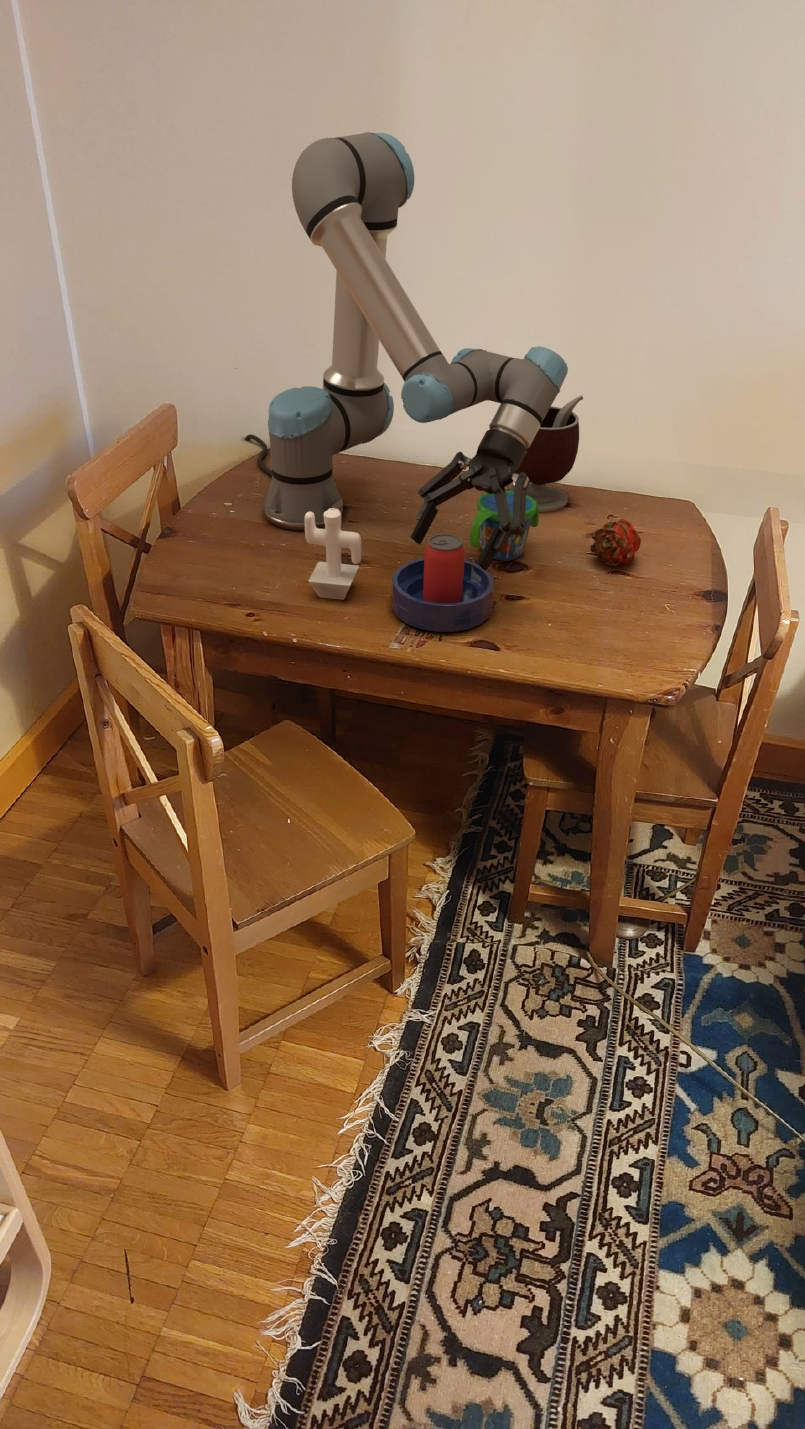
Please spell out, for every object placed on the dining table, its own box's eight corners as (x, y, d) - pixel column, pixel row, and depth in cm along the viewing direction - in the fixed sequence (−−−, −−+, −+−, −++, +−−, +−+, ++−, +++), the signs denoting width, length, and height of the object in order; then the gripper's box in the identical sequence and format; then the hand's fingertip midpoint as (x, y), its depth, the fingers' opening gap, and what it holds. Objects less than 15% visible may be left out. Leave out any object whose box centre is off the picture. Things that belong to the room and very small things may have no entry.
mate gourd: (529, 519, 198) (539, 419, 186) (489, 493, 208) (497, 396, 196) (591, 503, 205) (605, 406, 193) (550, 479, 214) (560, 385, 202)
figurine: (356, 605, 170) (356, 524, 161) (302, 599, 171) (298, 518, 162) (365, 585, 176) (365, 505, 167) (313, 579, 177) (310, 500, 168)
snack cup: (517, 532, 193) (522, 482, 187) (553, 554, 186) (559, 503, 180) (451, 552, 186) (454, 500, 180) (486, 575, 179) (490, 523, 173)
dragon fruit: (603, 584, 181) (609, 563, 191) (647, 563, 177) (651, 543, 187) (580, 543, 178) (588, 524, 189) (624, 521, 175) (630, 503, 185)
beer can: (420, 596, 171) (423, 532, 164) (459, 595, 172) (463, 531, 165) (424, 616, 166) (427, 551, 159) (464, 615, 167) (468, 550, 160)
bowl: (390, 585, 176) (390, 557, 172) (484, 584, 177) (487, 556, 173) (394, 635, 162) (395, 606, 159) (497, 634, 163) (499, 605, 160)
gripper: (579, 470, 162) (518, 587, 162) (455, 431, 174) (398, 539, 174) (566, 448, 156) (502, 569, 155) (438, 409, 168) (379, 521, 167)
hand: (447, 554), depth 164 cm, fingers open, 13 cm apart
